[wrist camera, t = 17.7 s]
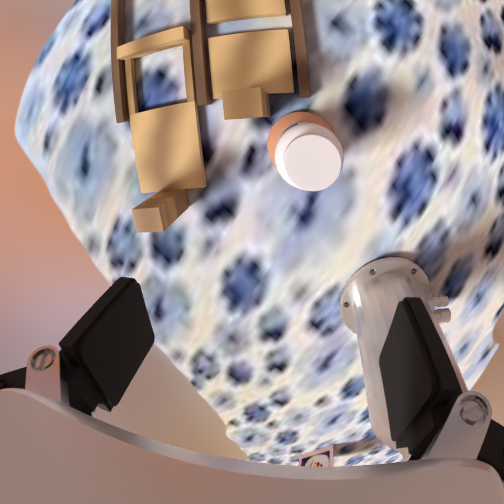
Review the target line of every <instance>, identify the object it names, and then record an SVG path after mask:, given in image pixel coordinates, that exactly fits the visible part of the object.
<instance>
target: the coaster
mask: <svg viewBox="0 0 504 504" xmlns="http://www.w3.org/2000/svg"><path fill="white" fill-rule="evenodd" d="M300 122H309V123H314V124H318V125H321V126H323V127H325V128H327V129H328V130H330V131H331V132H332V133H333V134H334V132H333V130H332V128H331V127H330V126H329V124H328V123H327V122H326V121H325V120H323V119H322V118H321V117H319V116H317V115H315V114H312V113H309V112H293V113H290V114H287V115H285V116H283V117H282V118H280V119H279V120H278V121H277V122H276V123H275V124H274V125H273V127H272V128H271V130H270V133H269V136H268V141H267V147H268V153H269V156H270V158H271V160H272V162H273V163H274V165H275V166H276V163H275V149H276V145H277V143H278V140H279V138H280V136H281V135H282V133H283V132H284V131H285V130H286V129H287V128H288V127H289V126H291V125H293V124H296V123H300ZM334 135H335V134H334ZM276 167H277V166H276Z"/></svg>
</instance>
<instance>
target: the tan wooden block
mask: <svg viewBox="0 0 504 504" xmlns="http://www.w3.org/2000/svg"><path fill="white" fill-rule="evenodd" d="M208 45H209V57H210V69H211V80H212V91H213V99H222V98H223V109H224V119H225V120H227V119H242V118H255V117H271V115H270V103H269V94H279V93H294V87H293V75H292V64H291V54H290V44H289V35H288V29H282V30H266V31H255V32H246V33H238V34H230V35H224V36H218V37H212V38H208Z"/></svg>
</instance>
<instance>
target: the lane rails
mask: <svg viewBox="0 0 504 504" xmlns="http://www.w3.org/2000/svg"><path fill="white" fill-rule="evenodd" d="M124 2H125V0H111V62H112V79H113V92H114V103H115V112H116V121H117V123H121V122H126V121H130V116H129V107H128V97H127V85H126V72H125V60H122V59H117V47H119V46H121V45H124V44H125V39H124ZM289 3H290V10H291V18H292V26H293V35H294V44H295V53H296V64H297V75H298V87H299V98H308V97H310V88H309V76H308V65H307V55H306V45H305V36H304V28H303V20H302V13H301V6H300V0H289ZM206 14H207V23H208V24H209V25H211V24H217V23H222V22H229V21H236V20H243V19H252V18H262V17H276V16H286V10H285V2H284V0H206ZM190 15H191V32H192V46H193V59H194V71H195V83H196V94H197V104H198V106H204V105H211V95H210V84H209V72H208V61H207V48H206V35H205V22H204V7H203V0H190Z"/></svg>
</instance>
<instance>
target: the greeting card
mask: <svg viewBox="0 0 504 504" xmlns="http://www.w3.org/2000/svg"><path fill="white" fill-rule="evenodd" d="M299 466H309V467H333V445H330V446H327V447H324V448H321V449H318V450H315V451H312V452H308V453H305V454H302V455H299Z"/></svg>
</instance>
